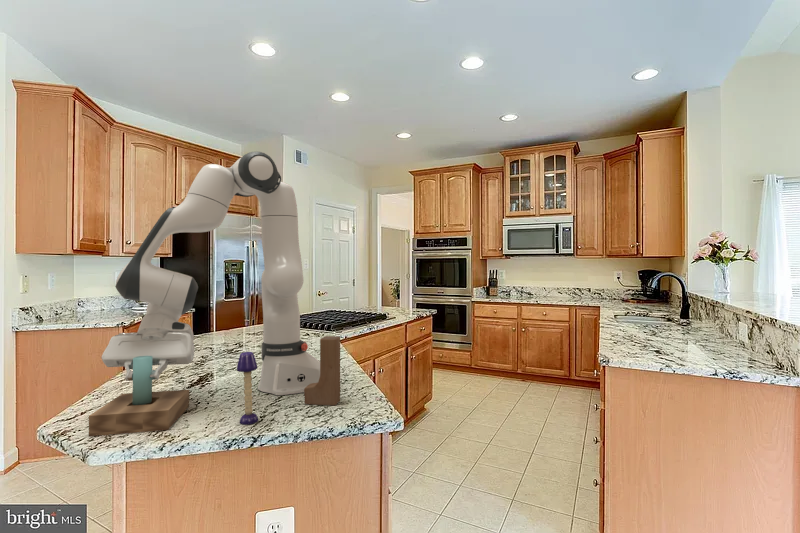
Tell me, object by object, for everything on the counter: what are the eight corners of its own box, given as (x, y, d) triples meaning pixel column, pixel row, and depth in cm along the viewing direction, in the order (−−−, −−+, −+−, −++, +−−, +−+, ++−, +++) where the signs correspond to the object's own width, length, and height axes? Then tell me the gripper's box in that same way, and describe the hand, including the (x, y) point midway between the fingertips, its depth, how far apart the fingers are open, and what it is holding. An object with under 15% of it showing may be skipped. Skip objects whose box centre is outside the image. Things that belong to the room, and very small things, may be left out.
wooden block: (303, 404, 108) (303, 338, 108) (309, 399, 113) (309, 335, 113) (335, 406, 107) (335, 338, 107) (340, 400, 112) (340, 336, 112)
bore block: (189, 406, 107) (189, 389, 107) (168, 429, 92) (168, 410, 92) (122, 411, 104) (122, 393, 104) (88, 436, 88) (88, 415, 88)
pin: (154, 399, 100) (155, 355, 100) (148, 404, 96) (148, 358, 96) (136, 400, 99) (137, 356, 99) (129, 405, 95) (130, 359, 95)
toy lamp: (250, 426, 94) (250, 355, 94) (232, 425, 94) (232, 354, 94) (261, 418, 98) (261, 350, 98) (244, 417, 99) (244, 350, 99)
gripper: (109, 326, 102) (87, 374, 93) (196, 324, 107) (184, 370, 97) (117, 340, 107) (97, 387, 97) (200, 338, 111) (189, 383, 101)
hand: (141, 379), depth 97 cm, fingers closed on pin, 4 cm apart
